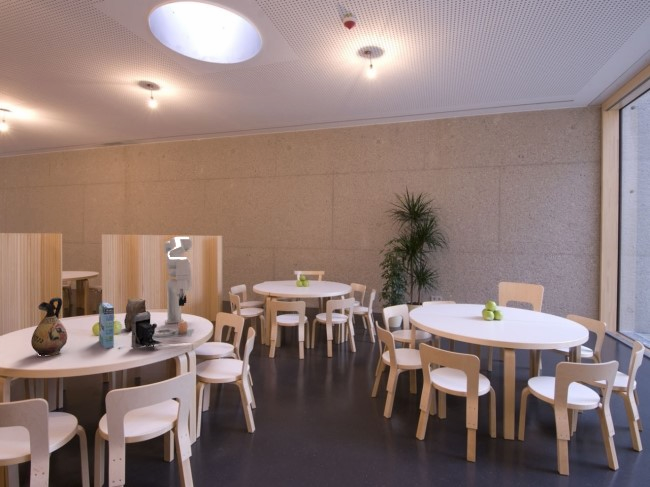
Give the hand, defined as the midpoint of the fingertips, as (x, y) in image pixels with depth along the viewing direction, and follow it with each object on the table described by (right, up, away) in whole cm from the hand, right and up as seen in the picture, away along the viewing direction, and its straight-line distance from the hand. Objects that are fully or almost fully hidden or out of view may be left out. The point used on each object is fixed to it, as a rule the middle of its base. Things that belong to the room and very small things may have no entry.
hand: (182, 304), depth 232 cm
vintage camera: (-10, -21, -26) cm, 35 cm away
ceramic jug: (-57, -21, -35) cm, 70 cm away
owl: (-40, -20, +15) cm, 47 cm away
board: (-6, -20, -1) cm, 21 cm away
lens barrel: (-11, -19, -2) cm, 22 cm away
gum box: (-38, -21, -18) cm, 47 cm away
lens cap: (0, -19, +1) cm, 19 cm away
